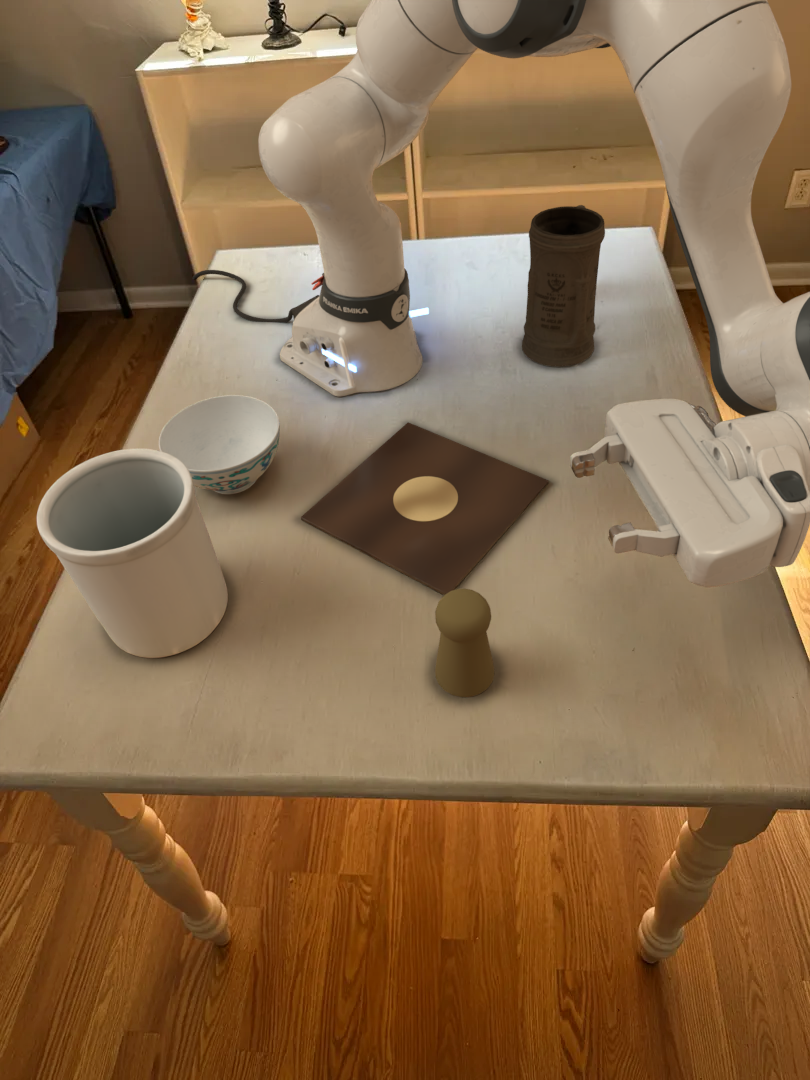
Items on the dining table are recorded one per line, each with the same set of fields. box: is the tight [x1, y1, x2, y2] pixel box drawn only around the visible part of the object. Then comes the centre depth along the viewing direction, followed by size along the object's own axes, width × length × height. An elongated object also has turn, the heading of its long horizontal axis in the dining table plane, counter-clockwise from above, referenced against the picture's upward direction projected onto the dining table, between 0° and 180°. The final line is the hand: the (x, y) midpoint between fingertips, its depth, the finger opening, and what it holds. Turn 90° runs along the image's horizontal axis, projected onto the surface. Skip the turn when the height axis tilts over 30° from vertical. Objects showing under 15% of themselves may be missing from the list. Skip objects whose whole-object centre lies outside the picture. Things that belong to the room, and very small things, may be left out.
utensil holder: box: [36, 447, 229, 659], centre depth 82 cm, size 15×15×18 cm
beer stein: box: [521, 204, 606, 368], centre depth 113 cm, size 15×11×20 cm
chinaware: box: [158, 394, 281, 495], centre depth 100 cm, size 15×15×8 cm
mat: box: [300, 422, 550, 596], centre depth 97 cm, size 22×22×1 cm
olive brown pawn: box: [434, 588, 495, 698], centre depth 75 cm, size 6×6×11 cm
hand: (591, 501), depth 66 cm, fingers open, 8 cm apart
